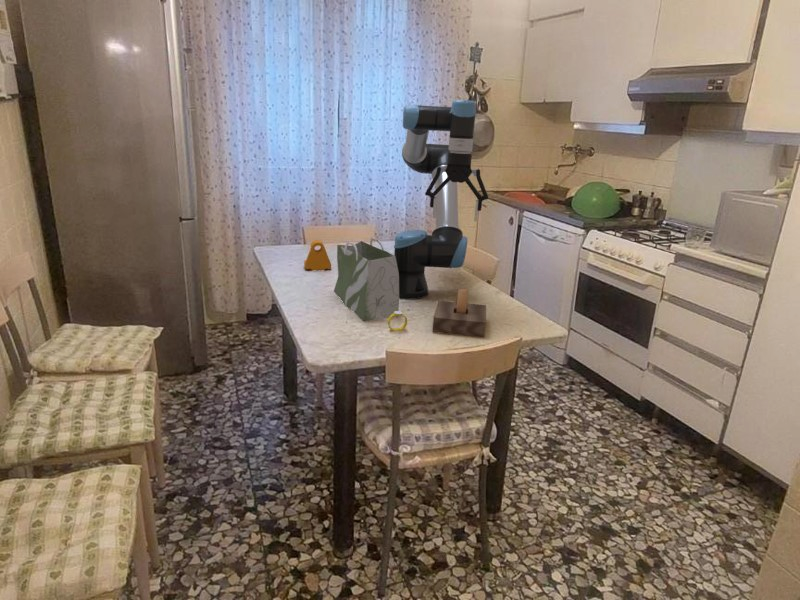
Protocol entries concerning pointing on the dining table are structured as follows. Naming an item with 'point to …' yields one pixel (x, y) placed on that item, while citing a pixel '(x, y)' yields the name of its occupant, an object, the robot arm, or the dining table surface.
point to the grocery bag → (367, 280)
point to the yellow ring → (397, 313)
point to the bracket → (317, 257)
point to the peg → (462, 301)
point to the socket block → (459, 319)
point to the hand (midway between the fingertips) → (454, 219)
